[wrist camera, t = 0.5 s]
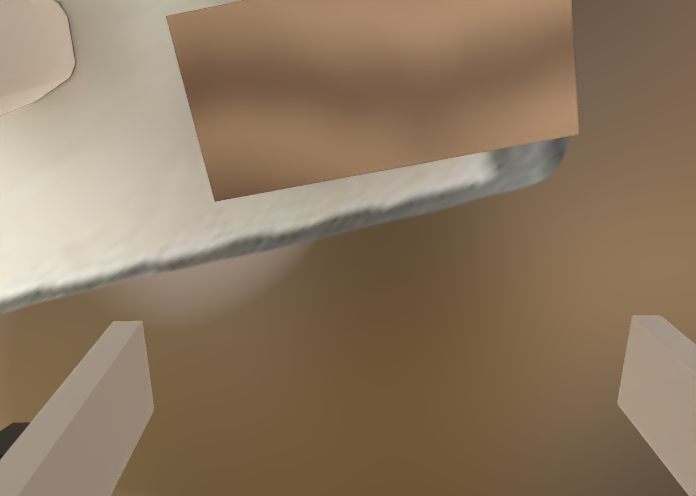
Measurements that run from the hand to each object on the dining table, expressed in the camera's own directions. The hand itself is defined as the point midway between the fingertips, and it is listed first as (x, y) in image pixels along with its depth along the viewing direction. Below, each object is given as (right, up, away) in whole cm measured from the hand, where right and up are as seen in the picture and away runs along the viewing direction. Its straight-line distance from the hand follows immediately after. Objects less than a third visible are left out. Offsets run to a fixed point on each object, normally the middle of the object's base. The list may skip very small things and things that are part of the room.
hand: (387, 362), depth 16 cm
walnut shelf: (0, +14, +22) cm, 26 cm away
